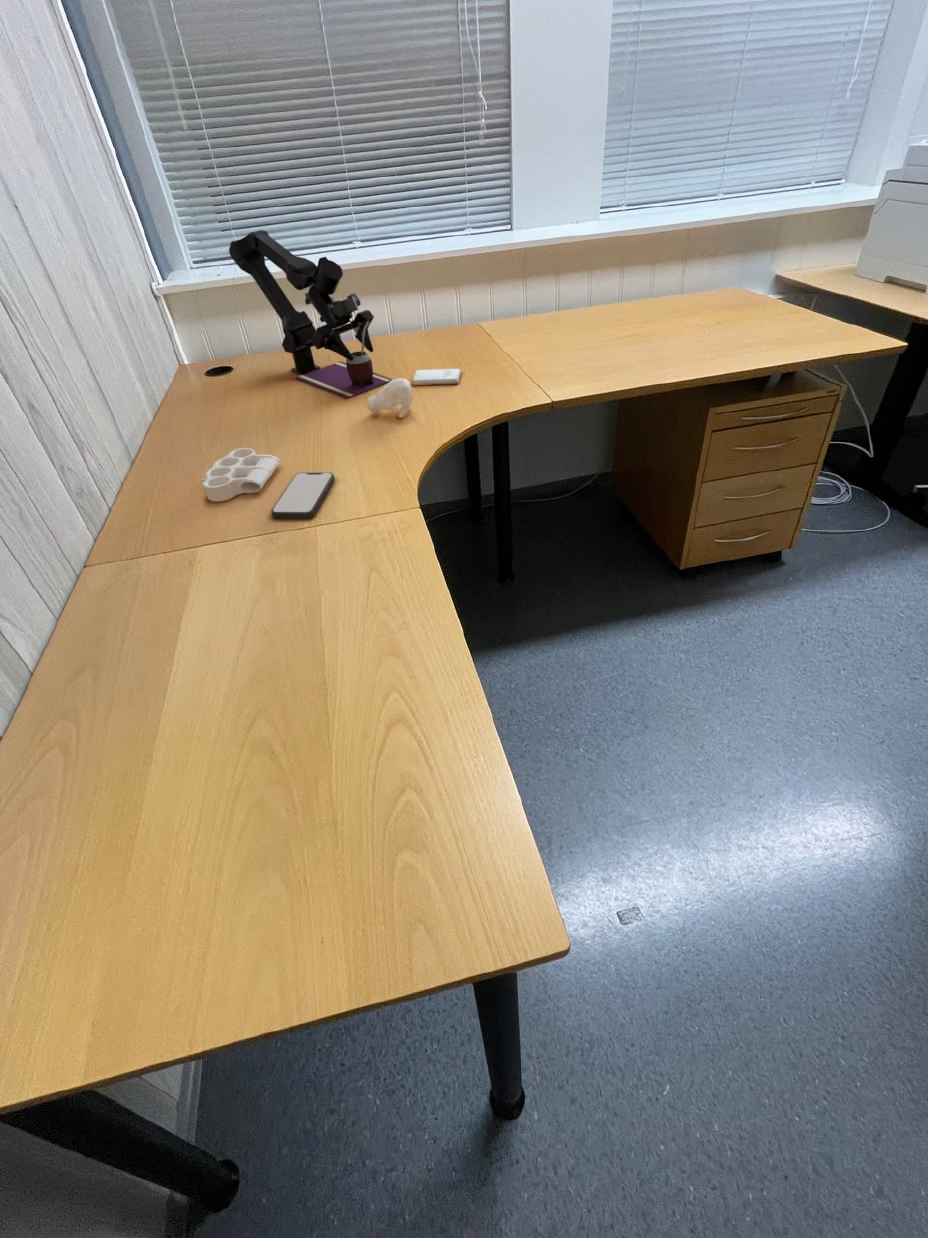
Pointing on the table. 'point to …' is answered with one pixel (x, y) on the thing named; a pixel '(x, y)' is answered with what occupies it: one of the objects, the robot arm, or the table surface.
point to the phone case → (303, 495)
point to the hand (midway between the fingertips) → (362, 355)
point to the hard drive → (436, 376)
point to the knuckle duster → (238, 474)
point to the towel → (339, 380)
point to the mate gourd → (360, 366)
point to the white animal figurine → (392, 397)
